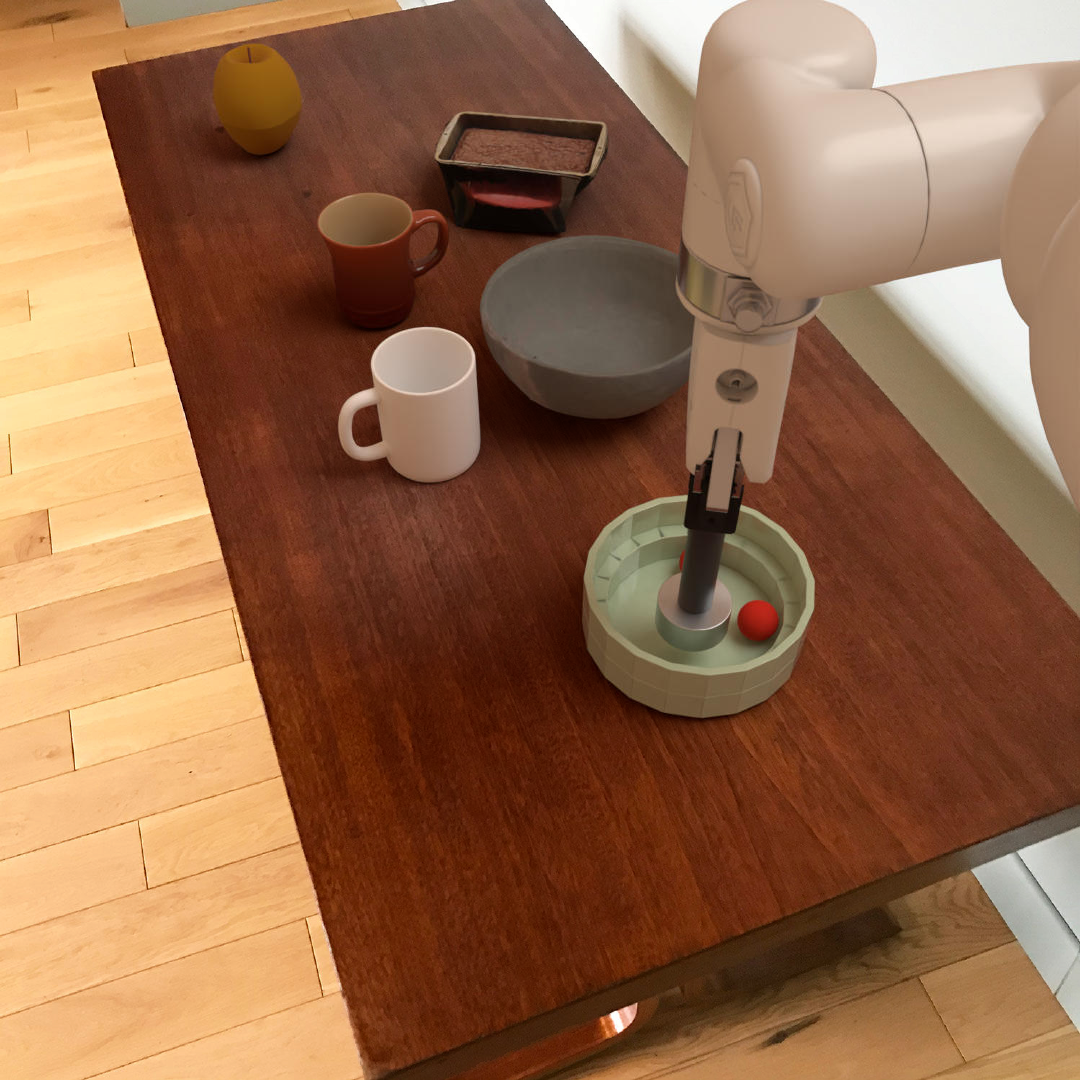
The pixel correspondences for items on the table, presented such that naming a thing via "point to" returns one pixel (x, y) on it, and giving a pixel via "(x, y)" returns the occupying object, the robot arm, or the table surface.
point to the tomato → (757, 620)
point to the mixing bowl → (631, 597)
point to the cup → (420, 405)
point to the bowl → (590, 325)
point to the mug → (377, 255)
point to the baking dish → (517, 168)
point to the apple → (257, 98)
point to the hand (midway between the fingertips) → (711, 507)
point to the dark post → (695, 596)
